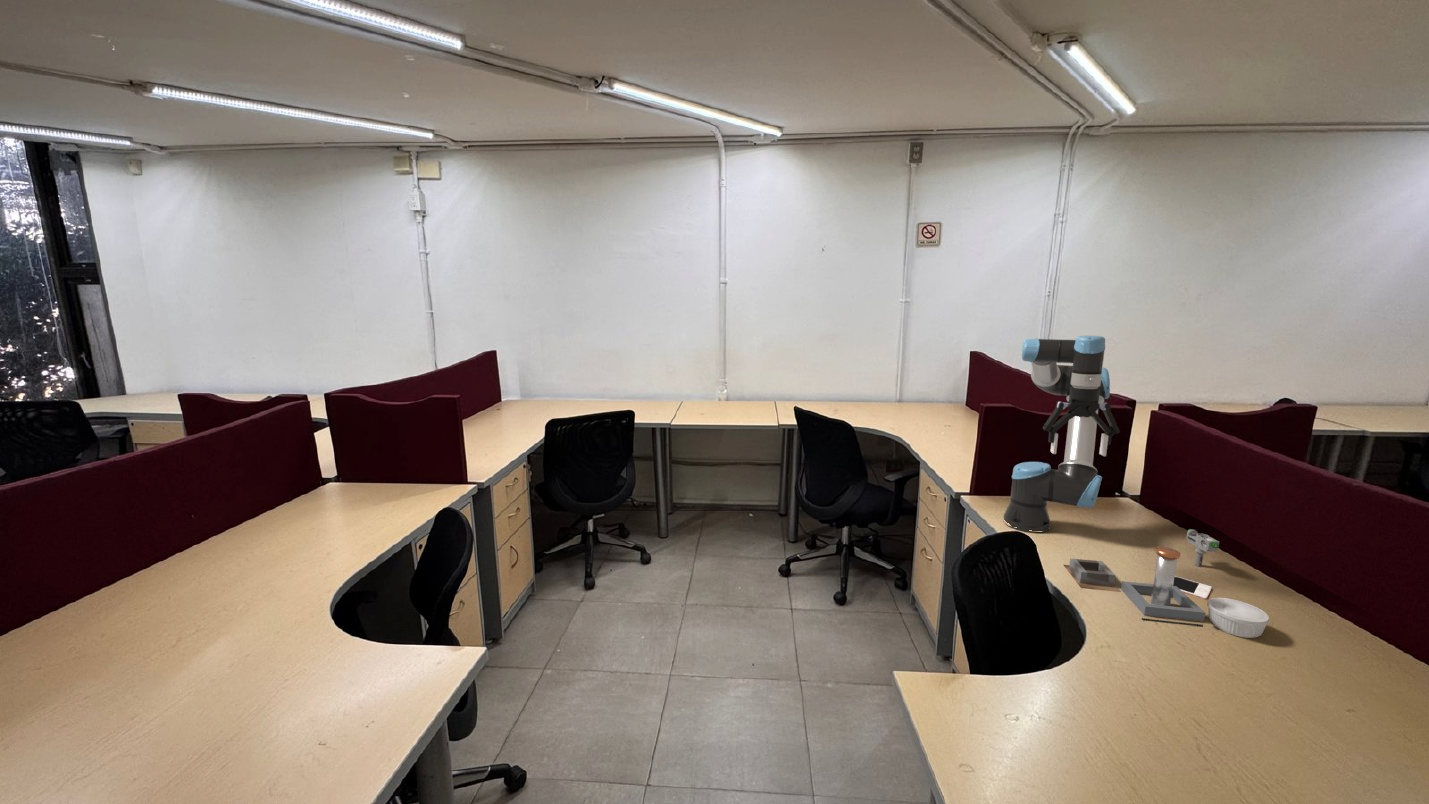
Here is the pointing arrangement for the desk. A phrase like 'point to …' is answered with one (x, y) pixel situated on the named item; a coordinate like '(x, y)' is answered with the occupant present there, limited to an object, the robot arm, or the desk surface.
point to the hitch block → (1092, 574)
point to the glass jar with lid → (1164, 575)
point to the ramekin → (1237, 617)
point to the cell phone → (1192, 587)
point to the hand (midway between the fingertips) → (1077, 454)
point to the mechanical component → (1201, 544)
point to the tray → (1185, 612)
